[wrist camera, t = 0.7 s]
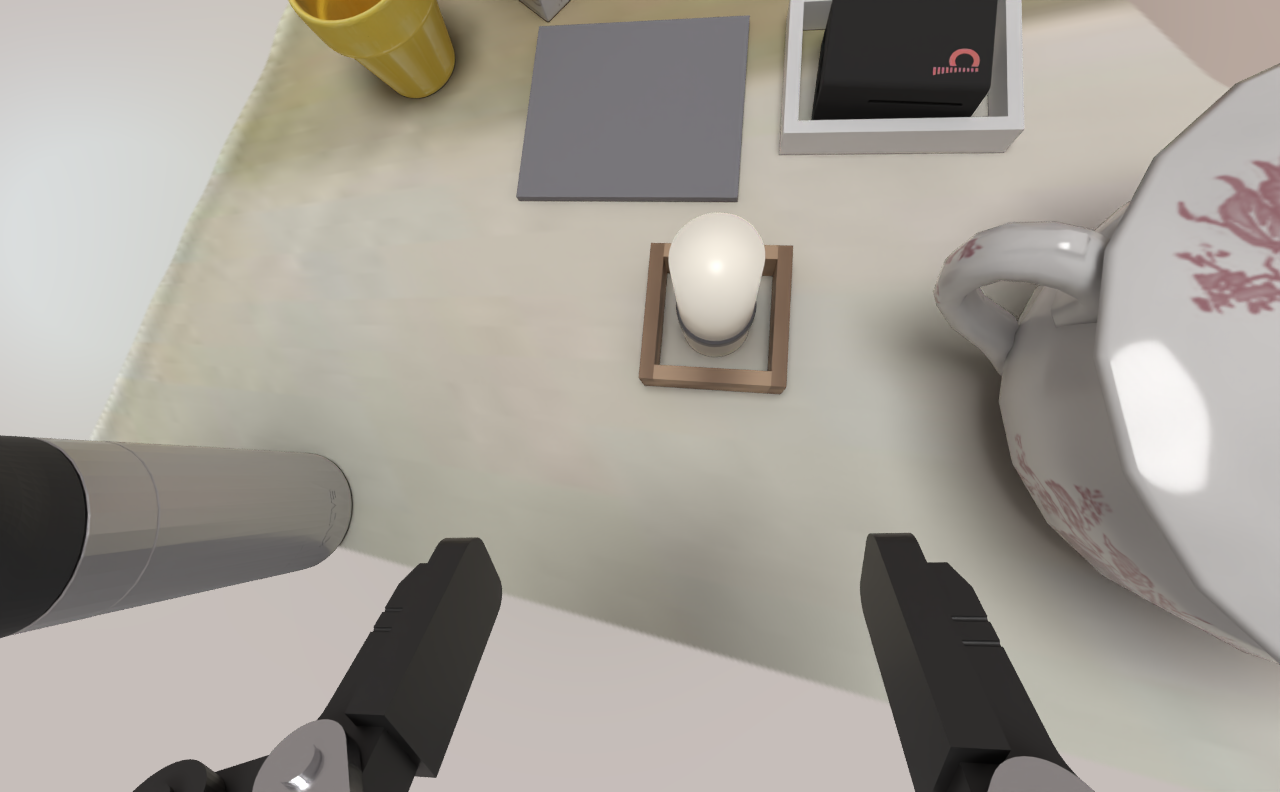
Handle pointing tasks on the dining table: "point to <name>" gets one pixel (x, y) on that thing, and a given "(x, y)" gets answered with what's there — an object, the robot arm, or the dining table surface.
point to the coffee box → (546, 7)
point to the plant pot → (387, 39)
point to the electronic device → (905, 59)
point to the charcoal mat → (636, 111)
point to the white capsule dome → (716, 281)
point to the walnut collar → (717, 378)
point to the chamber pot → (1154, 371)
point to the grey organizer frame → (907, 133)
